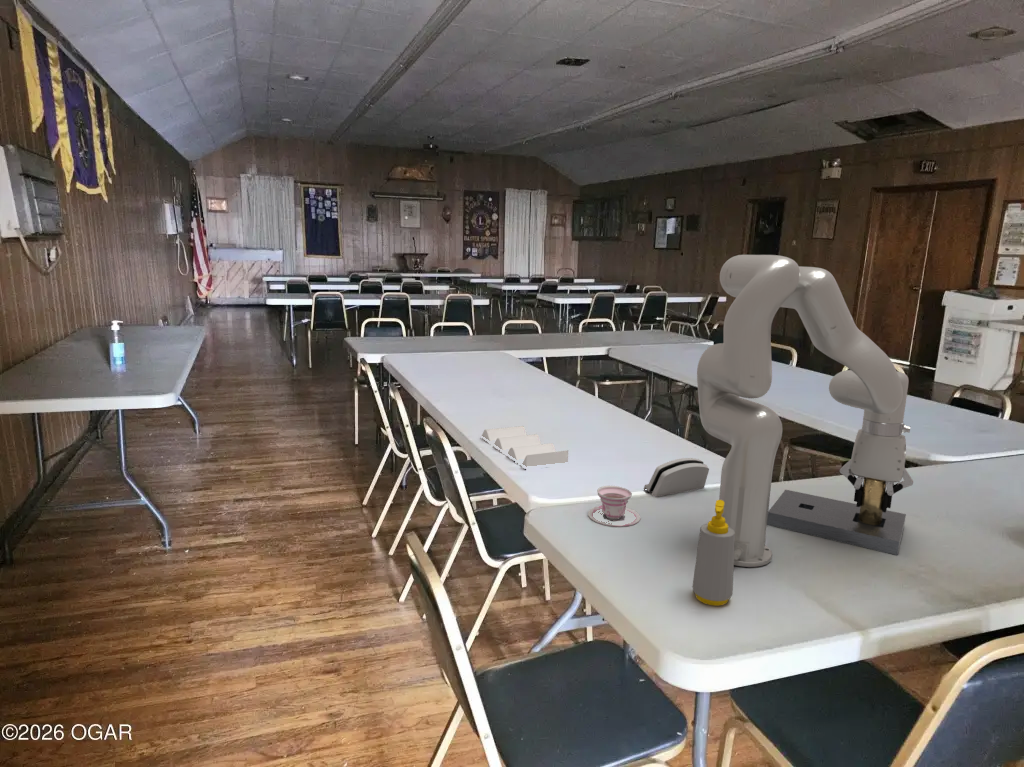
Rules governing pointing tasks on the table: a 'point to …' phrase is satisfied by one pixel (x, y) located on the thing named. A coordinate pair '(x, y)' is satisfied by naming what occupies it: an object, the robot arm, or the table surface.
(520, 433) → the white zigzag rack
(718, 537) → the soap bottle
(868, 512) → the tan cylinder
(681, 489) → the napkin holder
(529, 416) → the table surface
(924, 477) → the table surface
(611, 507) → the teacup
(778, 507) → the plate
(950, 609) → the table surface
